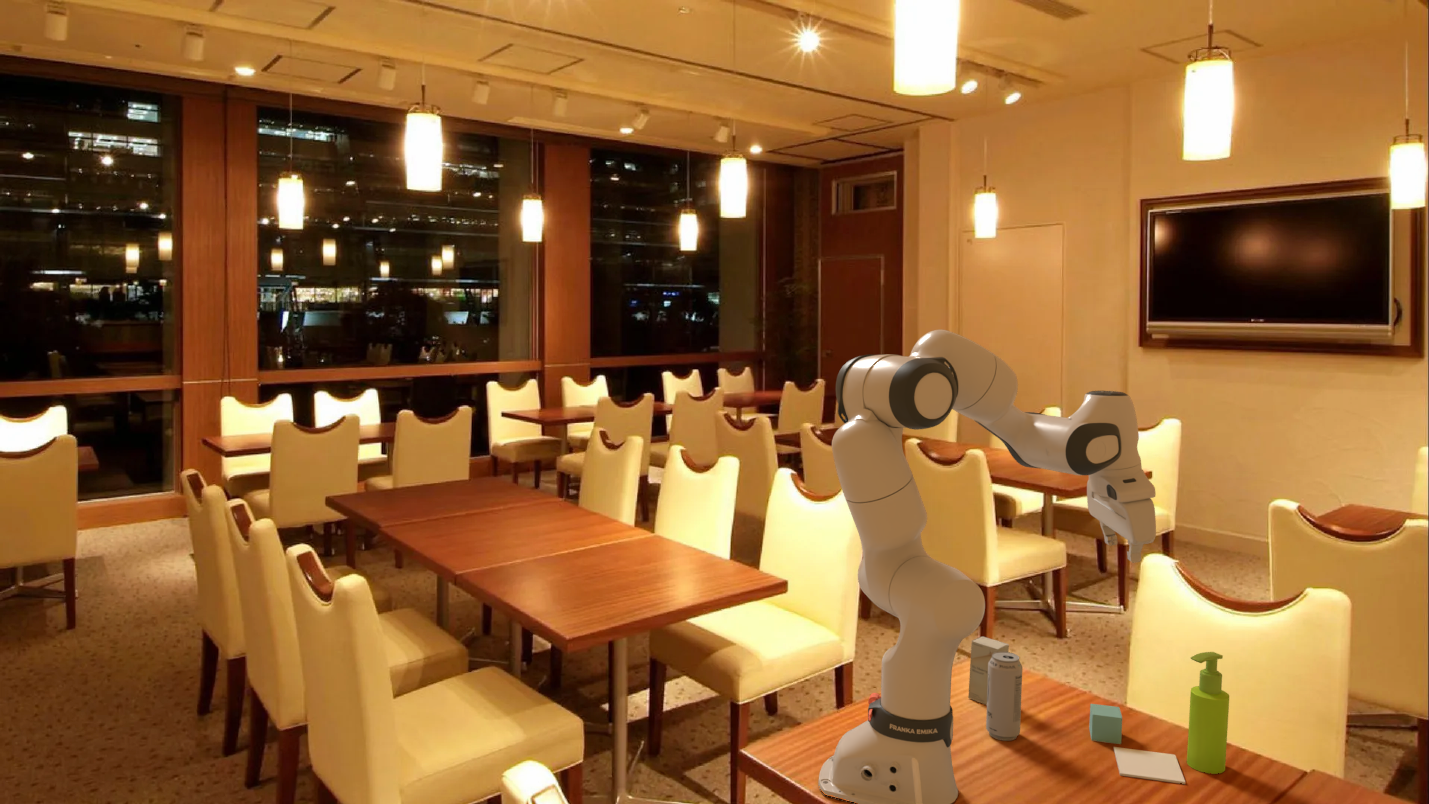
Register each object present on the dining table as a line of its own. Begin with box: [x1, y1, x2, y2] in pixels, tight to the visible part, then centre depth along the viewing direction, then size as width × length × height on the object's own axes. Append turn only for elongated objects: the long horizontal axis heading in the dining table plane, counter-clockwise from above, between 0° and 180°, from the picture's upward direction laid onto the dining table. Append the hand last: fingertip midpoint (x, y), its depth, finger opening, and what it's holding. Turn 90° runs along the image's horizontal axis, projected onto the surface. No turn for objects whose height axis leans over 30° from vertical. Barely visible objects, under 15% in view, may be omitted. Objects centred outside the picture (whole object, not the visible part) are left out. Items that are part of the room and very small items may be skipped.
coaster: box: [1113, 746, 1186, 785], centre depth 163 cm, size 10×10×1 cm
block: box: [1088, 703, 1123, 745], centre depth 174 cm, size 5×5×5 cm
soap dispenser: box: [1186, 651, 1230, 775], centre depth 162 cm, size 6×7×20 cm
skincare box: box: [967, 635, 1010, 706], centre depth 189 cm, size 6×4×12 cm
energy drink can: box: [985, 651, 1023, 742], centre depth 174 cm, size 6×6×15 cm
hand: (1122, 552), depth 170 cm, fingers open, 8 cm apart
